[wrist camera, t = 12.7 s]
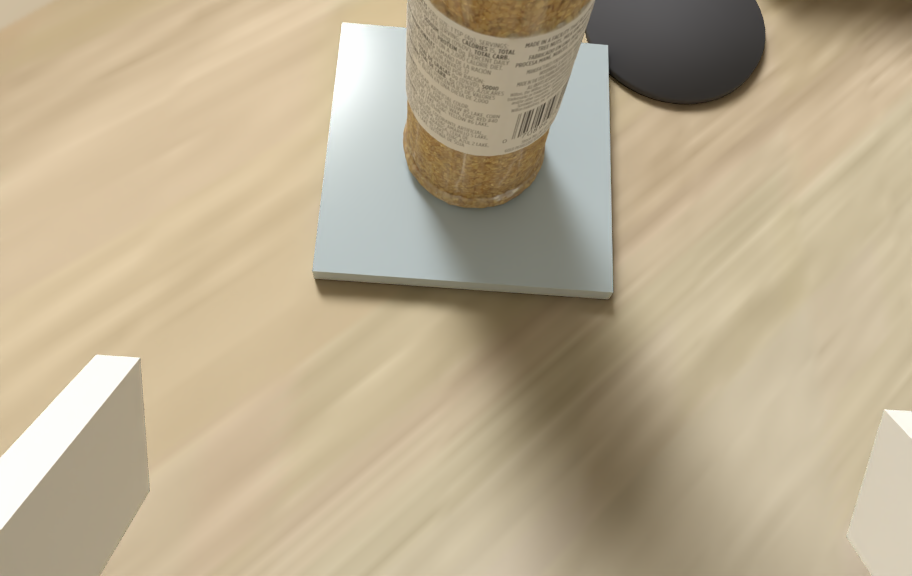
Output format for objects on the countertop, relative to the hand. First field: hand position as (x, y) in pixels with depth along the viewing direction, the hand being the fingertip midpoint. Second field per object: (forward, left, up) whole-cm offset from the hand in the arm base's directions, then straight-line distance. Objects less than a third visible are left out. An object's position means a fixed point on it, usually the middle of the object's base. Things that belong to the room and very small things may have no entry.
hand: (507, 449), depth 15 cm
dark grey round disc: (-7, -17, -9) cm, 20 cm away
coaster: (0, -11, -9) cm, 14 cm away
